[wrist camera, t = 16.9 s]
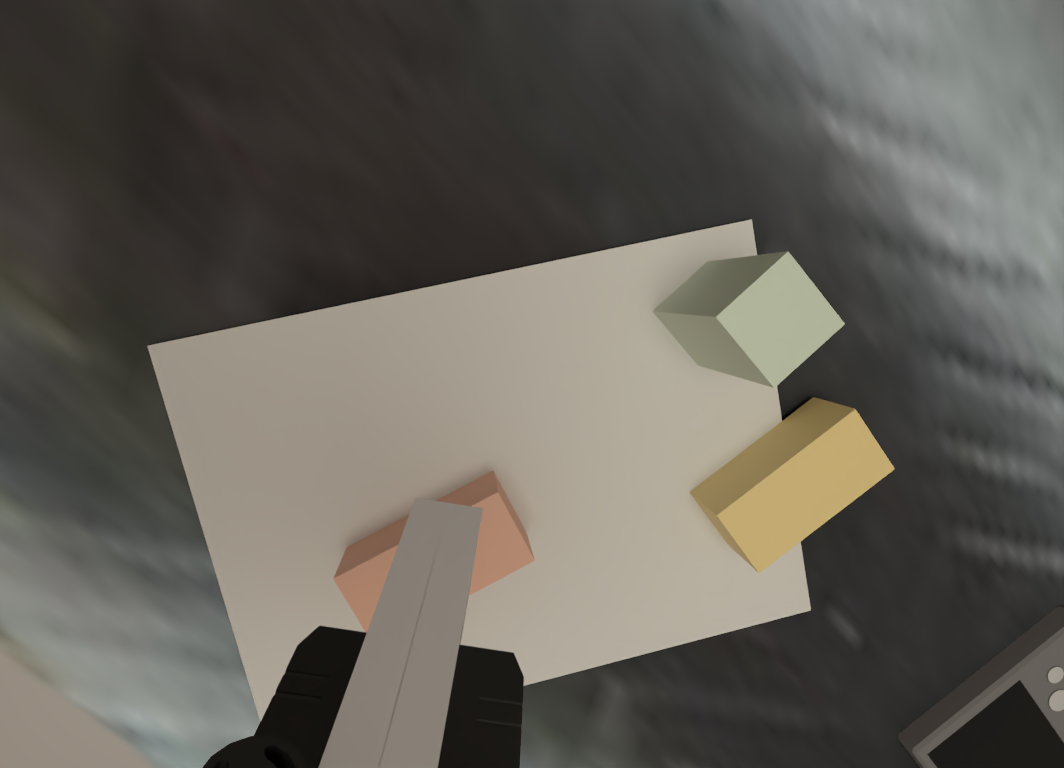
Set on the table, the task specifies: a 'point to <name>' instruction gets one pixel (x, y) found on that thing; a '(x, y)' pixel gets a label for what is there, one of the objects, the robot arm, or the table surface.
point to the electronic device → (1001, 709)
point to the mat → (482, 456)
